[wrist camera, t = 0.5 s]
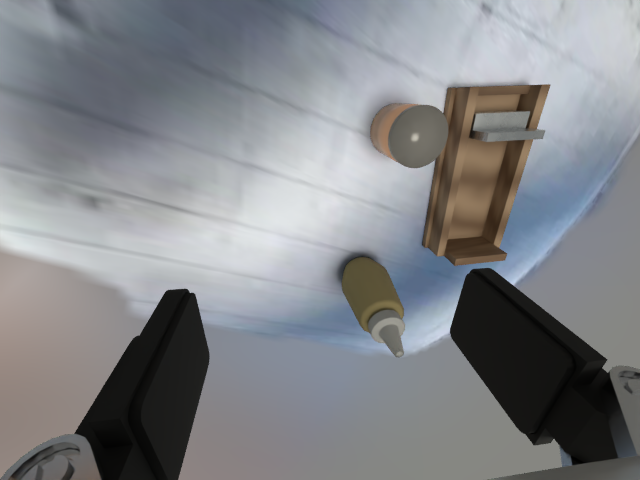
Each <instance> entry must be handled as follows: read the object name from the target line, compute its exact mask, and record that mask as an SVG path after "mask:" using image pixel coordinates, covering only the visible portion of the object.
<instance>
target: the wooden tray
mask: <svg viewBox="0 0 640 480" xmlns="http://www.w3.org/2000/svg"><path fill="white" fill-rule="evenodd" d="M549 88H550V85H523V86H492V87H461V88H448V90H447V96H446V102H445V108H444V116H445V118H446V120H447V123H448V138H447V142H446V145H445V147H444V149H443V150H442V152H441V153H440V155H439V156H438V157H437V158H436V163H435V169H434V176H433V182H432V188H431V194H430V200H429V206H428V212H427V218H426V224H425V230H424V237H423V243H422V245H423V246H424V247H425V248H429V249H430V250H431V251H432V252H433V253H434V254H435V255H436V256H445V257H446V258H447V259H448V260H449V261H450V262H451V263H452V264H453V265H454V266H456V265H466V264H475V263H484V262H494V261H503V260H505V259H506V256H507V253H505V252H504V251H502V250H501V249H500V248H499V247H500V244H501V240H502V237H503V234H504V231H505V228H506V225H507V221H508V218H509V215H510V212H511V209H512V205H513V202H514V199H515V196H516V193H517V190H518V186H519V183H520V180H521V177H522V174H523V170H524V167H525V164H526V161H527V158H528V155H529V151H530V148H531V145H532V142H533V139H530V140H512V141H494V142H485V141H480V140H476V139H471V138H469V135H470V130H471V125H472V120H473V116H474V112H490V111H514V110H517V111H530V115H529V118H528V121H527V125H526V128H531V129H537V126H538V123H539V120H540V116H541V113H542V110H543V107H544V104H545V100H546V97H547V94H548V91H549Z"/></svg>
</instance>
